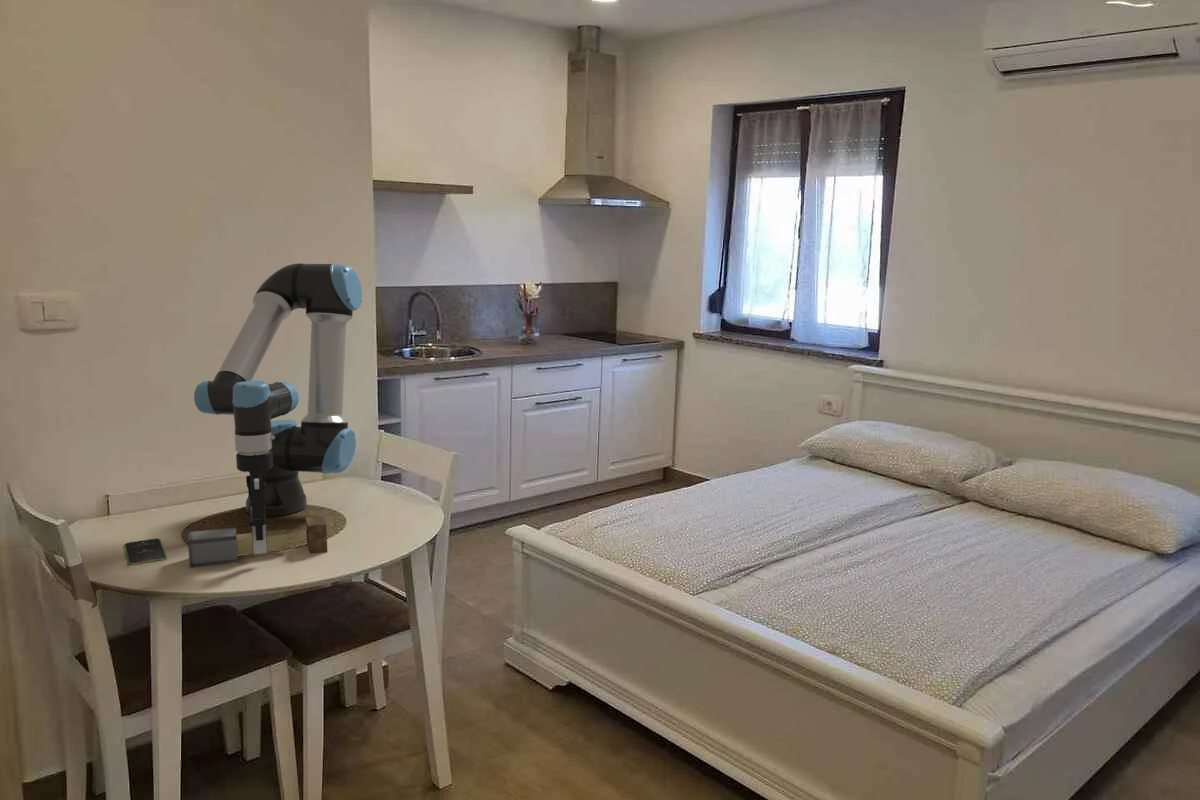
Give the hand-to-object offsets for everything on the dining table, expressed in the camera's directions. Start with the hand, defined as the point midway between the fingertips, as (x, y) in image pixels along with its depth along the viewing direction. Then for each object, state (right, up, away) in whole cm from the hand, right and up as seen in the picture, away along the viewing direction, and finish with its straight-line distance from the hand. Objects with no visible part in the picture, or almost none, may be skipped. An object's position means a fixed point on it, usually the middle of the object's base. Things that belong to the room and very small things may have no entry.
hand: (259, 543), depth 193 cm
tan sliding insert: (-3, -2, -1) cm, 4 cm away
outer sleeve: (-9, -3, -3) cm, 10 cm away
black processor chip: (-26, -3, +1) cm, 26 cm away
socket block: (+11, -2, +5) cm, 13 cm away
